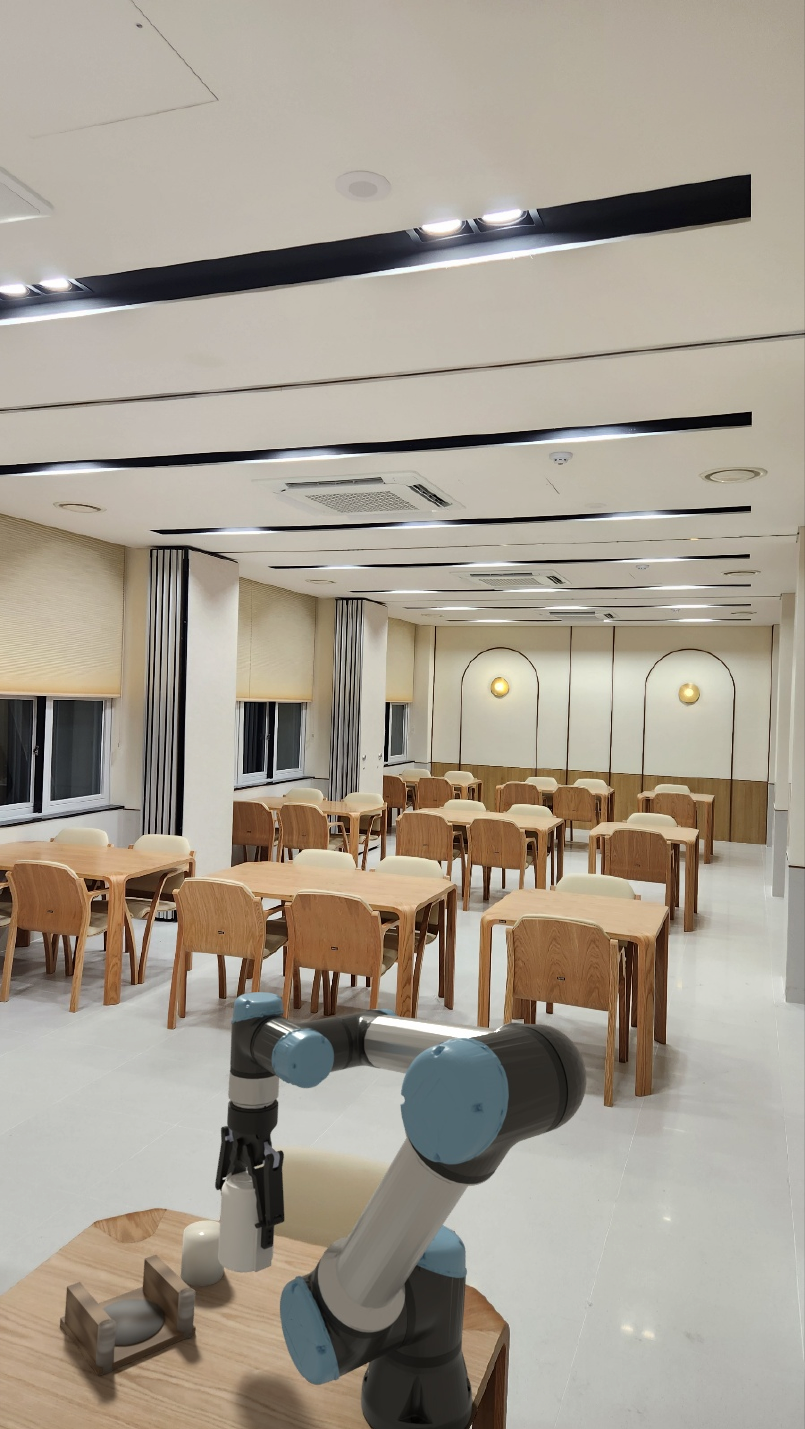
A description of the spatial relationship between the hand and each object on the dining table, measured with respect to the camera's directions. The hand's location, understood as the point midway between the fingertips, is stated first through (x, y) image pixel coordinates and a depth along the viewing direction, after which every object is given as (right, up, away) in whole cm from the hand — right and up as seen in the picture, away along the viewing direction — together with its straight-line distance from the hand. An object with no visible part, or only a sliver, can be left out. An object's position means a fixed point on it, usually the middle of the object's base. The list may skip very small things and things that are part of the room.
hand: (245, 1254), depth 135 cm
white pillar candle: (-10, -13, +16) cm, 23 cm away
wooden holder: (-18, -12, +1) cm, 21 cm away
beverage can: (0, -1, 0) cm, 1 cm away
